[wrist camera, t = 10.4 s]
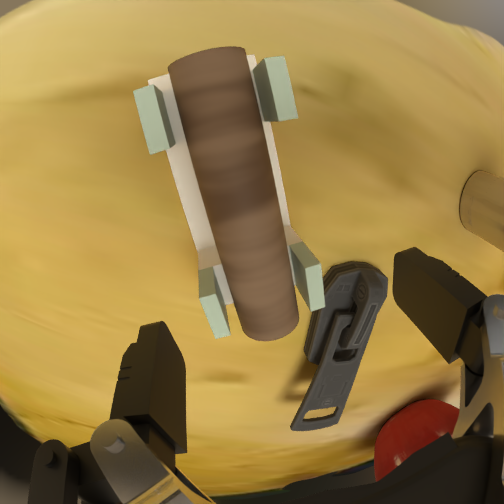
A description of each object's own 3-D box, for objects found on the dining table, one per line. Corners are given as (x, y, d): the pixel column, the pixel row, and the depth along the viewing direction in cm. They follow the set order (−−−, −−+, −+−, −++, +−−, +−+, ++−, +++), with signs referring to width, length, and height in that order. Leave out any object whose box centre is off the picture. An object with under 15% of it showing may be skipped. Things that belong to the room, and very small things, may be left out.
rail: (170, 75, 16) (164, 60, 12) (238, 59, 17) (251, 41, 12) (237, 311, 25) (247, 348, 21) (289, 296, 26) (307, 329, 22)
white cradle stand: (150, 82, 20) (124, 61, 12) (251, 57, 21) (278, 26, 13) (214, 295, 30) (221, 356, 22) (295, 272, 31) (327, 324, 23)
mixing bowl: (463, 376, 56) (492, 413, 42) (400, 439, 65) (420, 475, 52) (408, 379, 47) (445, 435, 33) (333, 452, 57) (352, 500, 43)
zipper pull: (286, 434, 35) (352, 290, 25) (275, 400, 41) (325, 258, 31) (339, 426, 37) (418, 291, 27) (326, 395, 43) (387, 263, 33)
